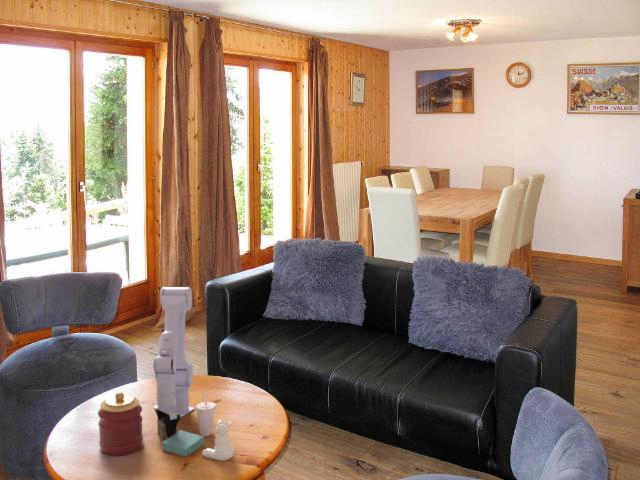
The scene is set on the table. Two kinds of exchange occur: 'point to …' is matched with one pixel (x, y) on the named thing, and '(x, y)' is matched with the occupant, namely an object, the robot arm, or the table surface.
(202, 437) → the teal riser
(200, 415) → the smoothie
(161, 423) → the walnut block
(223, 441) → the seated beast figurine
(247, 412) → the table surface
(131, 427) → the canister
